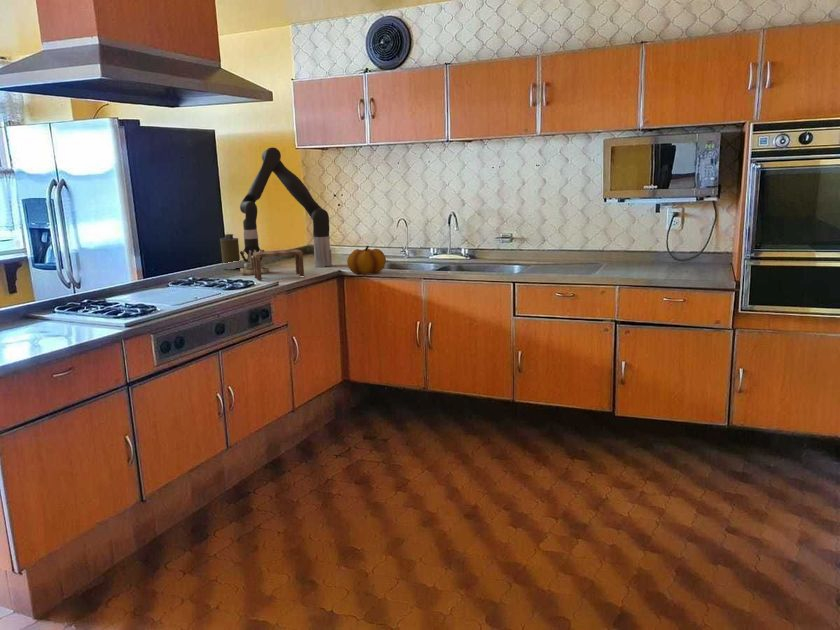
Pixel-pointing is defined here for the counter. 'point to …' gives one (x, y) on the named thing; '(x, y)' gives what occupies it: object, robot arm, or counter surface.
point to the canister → (229, 249)
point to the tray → (253, 268)
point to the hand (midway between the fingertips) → (253, 268)
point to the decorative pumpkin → (366, 261)
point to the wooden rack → (295, 252)
